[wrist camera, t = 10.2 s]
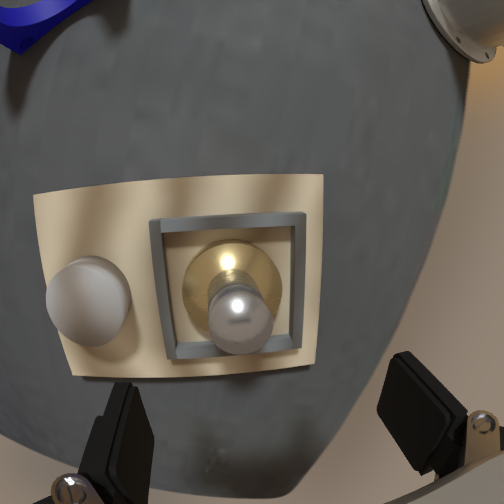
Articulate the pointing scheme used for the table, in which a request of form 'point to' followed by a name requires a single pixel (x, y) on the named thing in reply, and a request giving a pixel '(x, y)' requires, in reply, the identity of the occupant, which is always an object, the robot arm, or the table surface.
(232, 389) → the table surface
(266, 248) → the carrier plate
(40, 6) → the cable clip
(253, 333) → the gold and silver knob
